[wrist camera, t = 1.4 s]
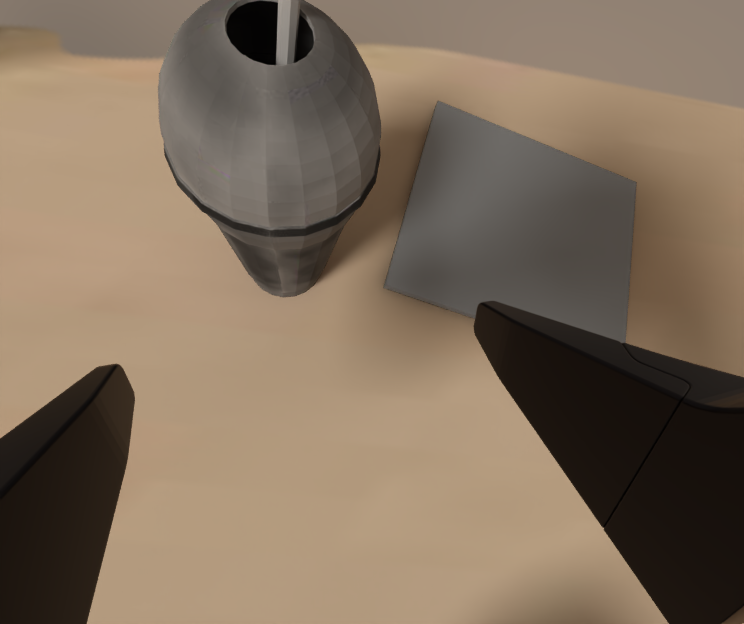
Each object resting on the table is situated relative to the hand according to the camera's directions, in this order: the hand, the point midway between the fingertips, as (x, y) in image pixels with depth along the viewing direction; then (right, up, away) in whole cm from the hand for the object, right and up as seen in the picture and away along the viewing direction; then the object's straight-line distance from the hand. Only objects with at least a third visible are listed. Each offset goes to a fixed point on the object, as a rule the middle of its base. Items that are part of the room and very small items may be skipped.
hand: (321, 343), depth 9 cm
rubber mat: (+13, +7, +19) cm, 24 cm away
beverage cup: (-4, +4, +14) cm, 16 cm away
